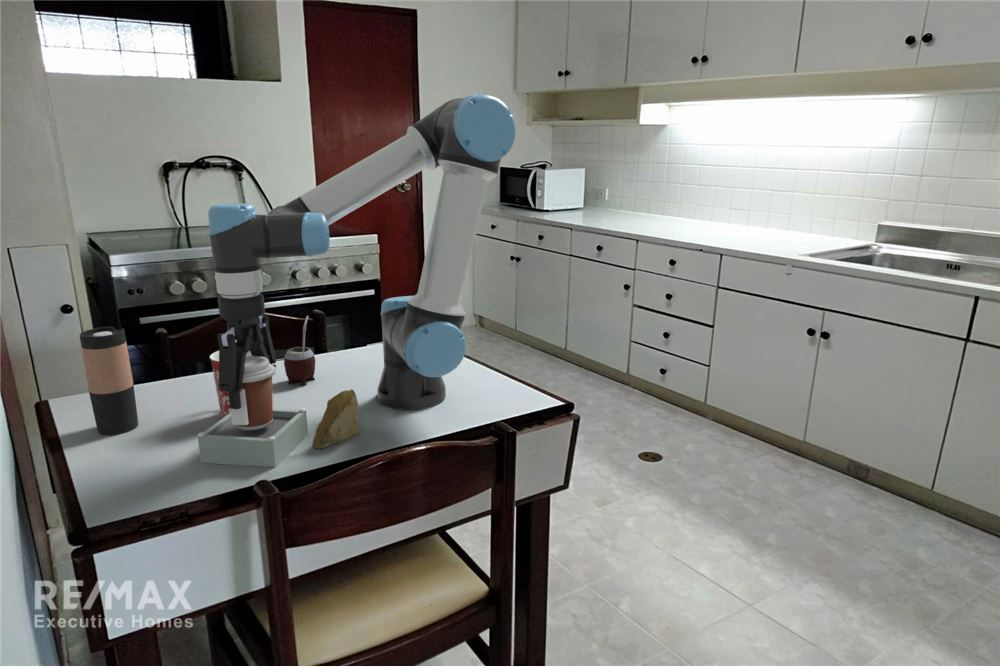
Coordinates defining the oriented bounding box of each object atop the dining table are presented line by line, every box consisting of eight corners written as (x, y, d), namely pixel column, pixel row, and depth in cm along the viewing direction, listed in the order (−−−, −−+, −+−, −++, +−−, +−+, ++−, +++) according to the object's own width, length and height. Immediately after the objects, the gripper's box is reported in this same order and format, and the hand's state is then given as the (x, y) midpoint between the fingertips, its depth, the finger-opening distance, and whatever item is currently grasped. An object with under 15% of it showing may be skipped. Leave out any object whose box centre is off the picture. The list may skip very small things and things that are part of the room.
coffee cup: (286, 413, 126) (280, 353, 123) (272, 433, 118) (265, 369, 114) (238, 414, 126) (231, 354, 123) (220, 433, 117) (212, 370, 114)
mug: (264, 419, 136) (258, 357, 132) (217, 426, 133) (209, 362, 129) (260, 398, 147) (254, 341, 144) (216, 404, 144) (209, 345, 140)
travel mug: (95, 438, 127) (76, 339, 122) (97, 424, 133) (80, 329, 128) (139, 431, 130) (124, 333, 125) (140, 417, 137) (125, 324, 131)
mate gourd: (290, 388, 153) (284, 326, 149) (282, 379, 160) (276, 319, 156) (322, 383, 157) (317, 322, 153) (313, 373, 163) (308, 315, 159)
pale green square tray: (308, 434, 129) (306, 408, 127) (275, 467, 115) (273, 439, 114) (240, 430, 131) (237, 404, 129) (200, 462, 117) (196, 434, 116)
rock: (316, 446, 119) (369, 428, 123) (301, 402, 121) (353, 386, 125) (312, 458, 128) (361, 441, 132) (298, 418, 130) (347, 402, 134)
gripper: (250, 281, 126) (262, 391, 132) (184, 307, 105) (201, 437, 111) (288, 282, 125) (298, 393, 131) (228, 308, 104) (243, 439, 110)
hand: (253, 413), depth 121 cm, fingers closed on coffee cup, 9 cm apart
